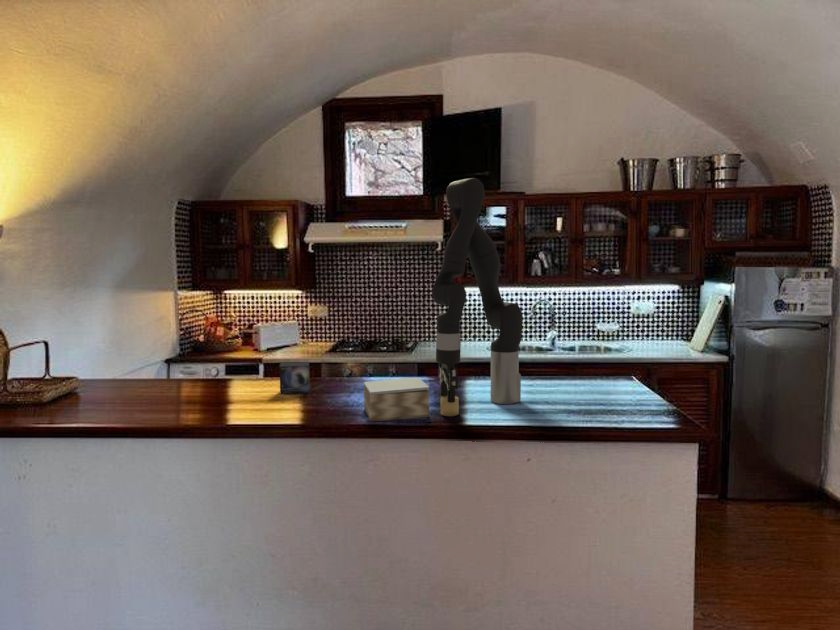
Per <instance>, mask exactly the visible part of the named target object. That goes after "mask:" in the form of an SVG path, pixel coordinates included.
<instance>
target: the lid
mask: <svg viewBox="0 0 840 630" xmlns="http://www.w3.org/2000/svg"><path fill="white" fill-rule="evenodd" d="M364 386H365V387H366V389H367V390H368V392H369V394H370V395H376V394H387V393H398V392H409V391H420V390H428V391H430V386H429V385H428V384H427V383H425V382H424V381H423V380H422V379H421V378H420V377H417V376H416V377H408V378H407V377H406V378H396V379H395V378H394V379H385V380H372V381H364V382H363V387H364Z"/></svg>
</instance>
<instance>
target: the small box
mask: <svg viewBox="0 0 840 630" xmlns="http://www.w3.org/2000/svg"><path fill="white" fill-rule="evenodd" d="M310 377H311V376H310V362H309V361H303V362H299V361H298V362H296V361H295V362H279V390H280V391H279V392H280V395H281V394H283V395H301V394H303V395H305V393H306V394H310V393H311V391H310V390H311V386H310V385H311V384H310V382H311V381H310V379H311V378H310Z"/></svg>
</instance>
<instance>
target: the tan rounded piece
mask: <svg viewBox="0 0 840 630" xmlns="http://www.w3.org/2000/svg"><path fill="white" fill-rule="evenodd" d="M447 396H448V395H447ZM447 396H440V415H441V416H445V417H455V416H458V415H459V410H460V408H459V404H460V403H459V401H460V400H459V399H460V398H459V397H458V396H457V395H455V402H454V403H449V402H448V401H447Z"/></svg>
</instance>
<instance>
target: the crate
mask: <svg viewBox="0 0 840 630" xmlns="http://www.w3.org/2000/svg"><path fill="white" fill-rule="evenodd" d="M363 401H364V402H363V407H364V412H365V413H366V415H367V417H368V419H369V421H370V422H381V421H395V420H396V421H398V420H406V419H407V420H408V419H419V418H420V419H421V418H422V419H423V418H429V417H430V390H420V391H409V392H398V393H387V394H376V395H370V394H369V392H368V390H367V389H366V387H365V386H364V385H363Z"/></svg>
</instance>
